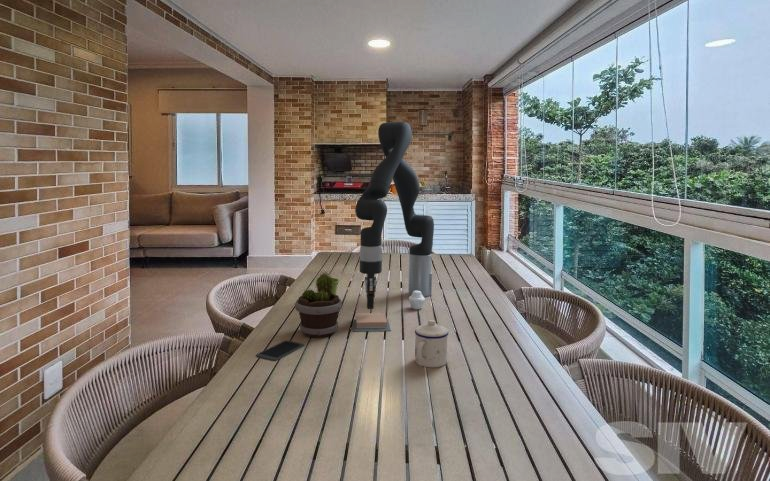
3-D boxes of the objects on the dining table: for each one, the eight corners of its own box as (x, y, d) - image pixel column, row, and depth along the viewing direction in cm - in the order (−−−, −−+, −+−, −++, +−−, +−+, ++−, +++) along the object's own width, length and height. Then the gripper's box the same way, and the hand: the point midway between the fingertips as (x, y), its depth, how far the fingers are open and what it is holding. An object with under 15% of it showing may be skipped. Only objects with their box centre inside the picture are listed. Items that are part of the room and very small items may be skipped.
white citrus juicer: (423, 311, 180) (424, 292, 179) (407, 309, 181) (407, 291, 180) (425, 306, 186) (426, 288, 185) (409, 305, 187) (410, 287, 186)
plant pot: (335, 305, 185) (335, 283, 184) (311, 304, 187) (311, 282, 186) (342, 299, 194) (342, 278, 193) (319, 297, 196) (319, 276, 195)
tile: (384, 313, 169) (387, 322, 160) (384, 318, 170) (387, 328, 160) (356, 313, 169) (356, 322, 159) (356, 318, 169) (356, 328, 159)
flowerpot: (323, 344, 145) (322, 279, 142) (285, 334, 153) (284, 272, 150) (351, 330, 157) (352, 270, 154) (315, 322, 165) (314, 264, 162)
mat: (387, 319, 169) (387, 319, 169) (390, 331, 157) (390, 330, 157) (353, 319, 168) (353, 319, 168) (353, 331, 157) (353, 331, 157)
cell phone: (254, 357, 135) (254, 355, 135) (285, 342, 148) (285, 339, 147) (275, 362, 132) (275, 360, 132) (305, 346, 144) (305, 344, 144)
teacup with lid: (423, 352, 139) (424, 313, 138) (452, 359, 135) (454, 319, 133) (402, 367, 129) (403, 325, 128) (433, 375, 125) (434, 331, 123)
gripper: (383, 262, 158) (382, 314, 160) (380, 255, 171) (380, 303, 173) (360, 262, 157) (359, 314, 160) (359, 255, 170) (358, 303, 173)
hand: (370, 308), depth 166 cm, fingers closed
